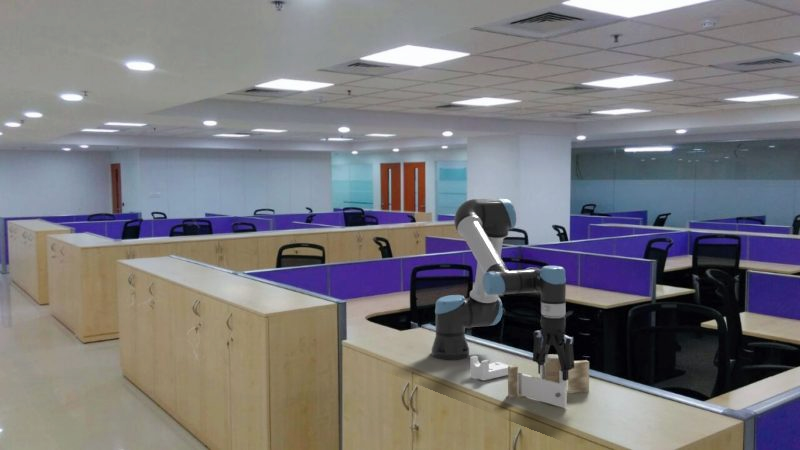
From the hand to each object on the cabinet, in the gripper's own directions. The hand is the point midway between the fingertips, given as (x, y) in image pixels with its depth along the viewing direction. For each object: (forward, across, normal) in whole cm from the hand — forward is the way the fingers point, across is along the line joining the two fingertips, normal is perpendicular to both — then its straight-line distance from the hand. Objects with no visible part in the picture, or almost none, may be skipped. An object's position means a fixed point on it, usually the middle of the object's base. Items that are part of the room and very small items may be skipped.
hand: (553, 387), depth 192 cm
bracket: (+4, -28, +4) cm, 29 cm away
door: (+3, -1, -5) cm, 6 cm away
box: (+1, 0, 0) cm, 1 cm away
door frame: (+4, -4, +3) cm, 6 cm away
